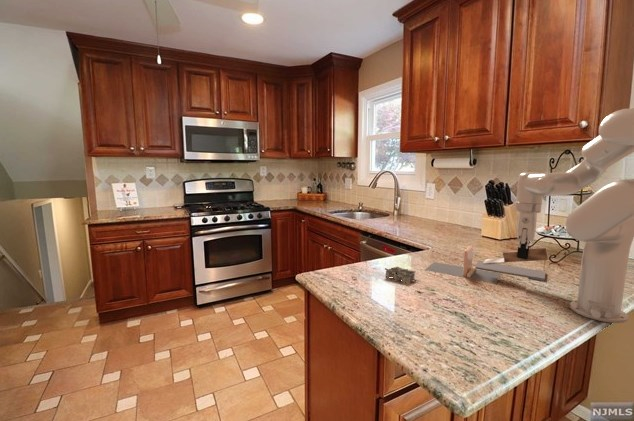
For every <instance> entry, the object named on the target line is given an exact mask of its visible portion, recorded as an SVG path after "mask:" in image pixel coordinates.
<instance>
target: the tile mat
mask: <svg viewBox="0 0 634 421" xmlns="http://www.w3.org/2000/svg"><path fill="white" fill-rule="evenodd" d="M424 271H429V272H433V273H440V274H444V275H449V276H450V275H451V276H455V277H460V278H463V279H464V278H465V279H470V280H475V281H481V282H487V283H491V284H497V282H498V280H499V278H500V276H501V274H502V273H500V272H495V271H489V270H483V269H477V268H476V267H474V266H472V269H471V270H470V271H469V272H468V273H467V276H463V266H460V265H459V266H458V265H454V264H453V265H452V264H448V263H442V262H438V261H433V262H432V263H431V264H430V265H429V266H428V267H426V268H425V269H424Z"/></svg>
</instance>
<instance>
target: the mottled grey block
mask: <svg viewBox="0 0 634 421" xmlns="http://www.w3.org/2000/svg"><path fill="white" fill-rule="evenodd" d="M384 270H385V277H386V276H387V277H388V278H387V277H386V278H387V279H390V278H389V277H393V278H394V279H395V280H394V279H393V280H394V281H396V280H402V281H401V282H410V283H411V281H412V280H415V276H416V275H415V274H416V272H417V270H409V269H406V268H401V267H400V266H394V267H391V268H387V267H385V268H384ZM395 273H397V274H398V275H397V274H395Z"/></svg>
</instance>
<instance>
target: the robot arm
mask: <svg viewBox="0 0 634 421" xmlns="http://www.w3.org/2000/svg"><path fill="white" fill-rule="evenodd" d="M581 148H582V149H581V155H582V158H583V159H582V161H581V162H579V163H578V164H577V165H574V167H572V168H571V169H569V170H567V171H565V172H544V173H542V172H533V171H531V172H530V171H529V172H528V171H527V172H522V173H520V174H519V176H518V179H517V180H518V181H517V190H516V199H515V209H514V210H515V211H516V212H518V218H517V229H516V230H517V231H516V235H517V236H516V239H518V240H519V241H518V247H517V250H518V252H517V258H521V259H528V251H529V249H530V241H531V242H533V241H534V240H535V238H536V228H537V217H538V214H540V213H541V211H542V205H543V204H542V203H543V196H544V197H554V196H555V197H556V196H570V195H573V194H575V193H577V192H580V191H582V190H583V189H584V188H587V187H588V186H590V185H591V184H593V183H595V182H596V181H597V180H599V179H600V178H601V177H602V176H603V175H604V174H605V173H606V172H607V171H606V170H607V169H609V168H610V167H611V166H612V165H613V166H614V165H615V164H616V163H618V162H619V161H621V160H623V159H624V158H626V157H628V156H630V155H631V154H634V108H621V109H619V110H616V111H614V112H612V113H610V114H608V115H607V116H606V117H605V118H603V120H602V121H601V122H600V124H599V126H598V135H597V136H596V137H595V138H593V139H592V140H590V141H589V142H587V143H586V144H585V145H584V146H582V147H581ZM565 229H566V232H567V234H568V235H569V236H570V237H571V238H573V239H575V240H576V241H579V242H583V243H584V247H583V250H582V256H581V263H580V264H581V265H580V273H579V283H578V291H577V292H578V293H577V299H576V300H573V301H571V302H570V303H569V308H570V309H571V310H572V311H573V312H574V313H576V314H578V315H580V316H583V317H585V318H588V319H591V320H595V321H599V322H603V323H610V324H611V323H612V324H622V323H623V324H624V323H625V322H626V323H627V322H628V320H629V314H627V313H626V312H625V311H624V310H622V306H623V299H624V293H625V286H626V284H625V283H626V277H627V271H628V270H627V268H628V263H629V257H630V251H631V247H632V244H633V242H634V178H628V179H627V178H625V179H619V180H615V181H613V182H610V183H608V184H606V185H604V186H603V187H601V188H600V189H599V190H597V191H596V192H595V193H594V194H592V195H591V196H589V197H588V198H587V199H586V200H584V201H583V202H582V203H581V204H579V205H578V206H577V207H575V208H574V209H573V210H572V211H571V212H570V213H569V214H568V216H567V217H566V219H565Z"/></svg>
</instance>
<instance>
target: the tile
mask: <svg viewBox="0 0 634 421" xmlns="http://www.w3.org/2000/svg"><path fill="white" fill-rule="evenodd" d="M473 251H474V246H473V245H469V246H468V247H467V248H466V249H464V251H463V261H462V262H463V266H462V267H463V276H467V273H468V272H469V271H470V270H471V269H472V267H473V254H474V253H473Z"/></svg>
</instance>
